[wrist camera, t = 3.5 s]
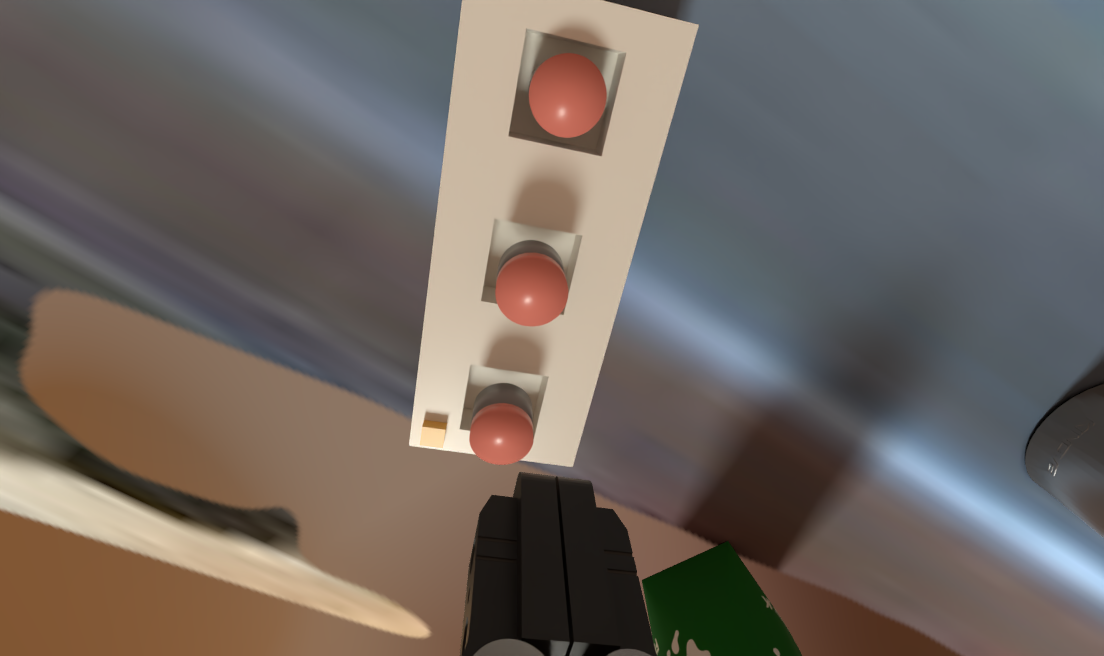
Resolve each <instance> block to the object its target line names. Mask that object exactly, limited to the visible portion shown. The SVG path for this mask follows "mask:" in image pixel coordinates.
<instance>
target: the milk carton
mask: <svg viewBox="0 0 1104 656" xmlns="http://www.w3.org/2000/svg"><path fill="white" fill-rule="evenodd" d="M642 583H643V589H644V594H645V599H646V604H647V610H648V616H649V621H650V626H651V632H652V637H653V642H654V647H655V650H656V654H657V656H802V655H801V652H800V650H799V648H798V647H797V645H796V643H795V642H794V639H793V637H792V636H791V634H790V632H789V630H788V629H787V627H786V625H785V624H784V622H783V621H782V619H781V617H780V616H779V614H778V613H777V611H776V610H775V608H774V607H773V605H772V604H771V603H770V601H769V600H768V598H767V597H766V595H765V594H764V593H763V591H762V590H761V588H760V587H759V585H758V584H757V582H756V581H755V579H754V578H753V577H752V575H751V574H750V572H749V571H748V569H747V568H746V566H745V565H744V563H743V562H742V561H741V559H740V558H739V556H738V555H737V553H736V552H735V550H734V549H733V547H732V546H731V545H730V543H729V542H728V541H727V542H725V543H722V544H720V545H718V546H716V547H714V548H711V549H709V550H707V551H705V552H703V553H700V554H698V555H696V556H694V557H692V558H689V559H687V560H685V561H683V562H681V563H678V564H676V565H674V566H672V567H670V568H667V569H665V570H663V571H661V572H659V573H656V574H654V575H652V576H650V577H648V578H646V579H643V580H642Z"/></svg>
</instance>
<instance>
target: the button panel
mask: <svg viewBox="0 0 1104 656" xmlns="http://www.w3.org/2000/svg"><path fill="white" fill-rule="evenodd" d="M698 26H699V25H697V24H693V23H689V22H685V21H681V20H677V19H673V18H669V17H666V16H662V15H658V14H654V13H650V12H646V11H642V10H638V9H634V8H630V7H627V6H623V5H619V4H615V3H611V2H607V1H603V0H462V7H461V15H460V24H459V32H458V40H457V49H456V57H455V65H454V74H453V82H452V90H451V99H450V107H449V116H448V124H447V132H446V141H445V149H444V157H443V166H442V174H441V183H440V191H439V199H438V208H437V216H436V224H435V233H434V241H433V250H432V258H431V266H430V275H429V283H428V291H427V300H426V308H425V316H424V325H423V333H422V342H421V350H420V358H419V367H418V375H417V383H416V392H415V400H414V409H413V417H412V425H411V434H410V442H409V446H416V447H424V448H432V449H439V450H447V451H454V452H462V453H470V454H475V453H474V452H473V450H472V448H471V446H470V442H469V436H470V428H471V421H472V414H473V407H474V401H475V399H476V397H477V395H478V394H479V393H480V392H481V391H482V390H483V389H484V388H486V387H488V386H490V385H492V384H496V383H509V384H513V385H516V386H518V387H520V388H522V389H523V390H524V391H525V392H526V393H527V394H528V395H529V397H530V399H531V402H532V412H533V445H532V448H531V450H530V451H529V453H528V454H527V455H526V456H525V457H524V458H522V459H521V460H523V461H531V462H538V463H546V464H554V465H561V466H569V467H573V463H574V460H575V456H576V453H577V449H578V446H579V442H580V439H581V435H582V432H583V428H584V425H585V421H586V418H587V414H588V411H589V407H590V404H591V400H592V397H593V393H594V390H595V386H596V383H597V379H598V376H599V372H600V369H601V365H602V362H603V358H604V355H605V351H606V348H607V344H608V341H609V337H610V334H611V330H612V327H613V323H614V320H615V316H616V313H617V309H618V306H619V302H620V299H621V295H622V292H623V288H624V285H625V281H626V278H627V274H628V271H629V267H630V264H631V260H632V257H633V253H634V250H635V246H636V243H637V239H638V236H639V232H640V229H641V225H642V222H643V218H644V215H645V211H646V208H647V204H648V201H649V197H650V194H651V190H652V187H653V183H654V180H655V176H656V173H657V169H658V166H659V162H660V159H661V155H662V152H663V148H664V145H665V141H666V138H667V134H668V131H669V127H670V124H671V120H672V117H673V113H674V110H675V106H676V103H677V99H678V96H679V92H680V89H681V85H682V82H683V78H684V75H685V71H686V68H687V64H688V61H689V57H690V54H691V50H692V47H693V43H694V40H695V36H696V33H697V29H698ZM563 53H574V54H578V55H581V56H584V57H586V58H587V59H589V60H590V61H592V62H593V63H594V64H595V65H596V67H597V68H598V69H599V71H600V72H601V74H602V76H603V78H604V81H605V85H606V93H607V97H606V105H605V108H604V111H603V114H602V116H601V118H600V119H599V121H598V122H597V123H596V125H595V126H594V127H593V128H591V129H590V130H589V131H588V132H586V133H584V134H582V135H580V136H576V137H571V138H564V137H558V136H555V135H553V134H550V133H549V132H547V131H546V130H545V129H543V128H542V127H541V126H540V125H539V124H538V122H537V121H536V119H535V117H534V116H533V113H532V111H531V107H530V104H529V98H528V88H529V83H530V80H531V77H532V75H533V73H534V71H535V70H536V68H537V67H538V66H539V65H540V64H541V63H542V62H544V61H545V60H547V59H548V58H551V57H553V56H555V55H559V54H563ZM525 240H537V241H541V242H544V243H546V244H548V245H550V246H551V247H552V248H553V249H554V250H555V251H556V252H557V253H558V254H559V256H560V258H561V260H562V263H563V267H564V271H565V276H566V280H567V285H568V300H567V303H566V306H565V308H564V309H563V311H562V312H561V313H560V315H559V316H558V317H556V318H555V319H554V320H552V321H551V322H549V323H547V324H544V325H540V326H523V325H519V324H517V323H515V322H513V321H511V320H509V319H508V318H507V317H506V316H505V315H504V314H503V313H502V312H501V310H500V309H499V307H498V304H497V301H496V296H495V290H496V281H497V272H498V265H499V261H500V259H501V257H502V255H503V254H504V252H505V251H506V250H507V249H508V248H509V247H511V246H512V245H514V244H515V243H518V242H521V241H525Z"/></svg>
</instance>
